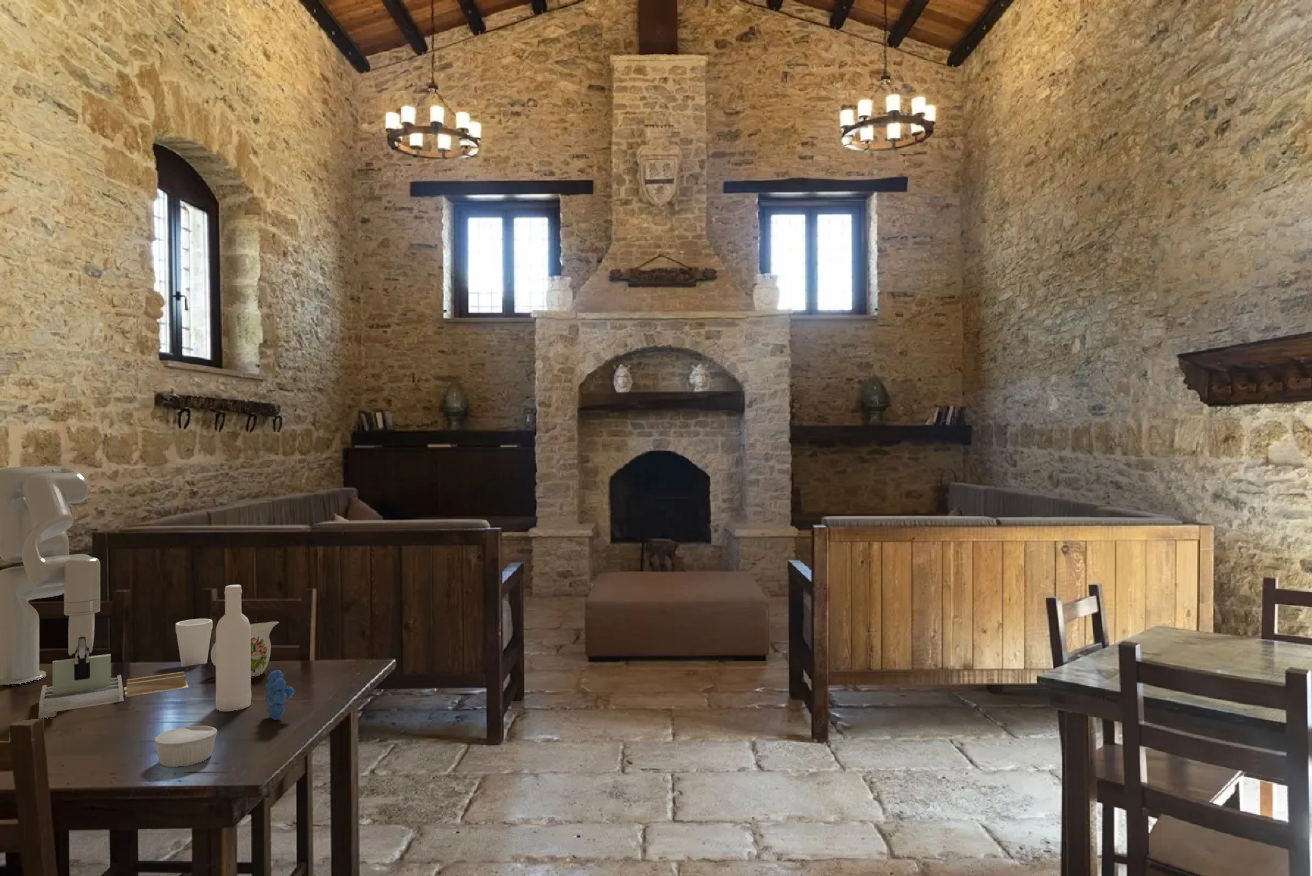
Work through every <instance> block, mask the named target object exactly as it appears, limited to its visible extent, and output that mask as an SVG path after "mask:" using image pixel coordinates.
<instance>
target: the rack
mask: <svg viewBox="0 0 1312 876" xmlns="http://www.w3.org/2000/svg"><path fill="white" fill-rule="evenodd" d="M123 686H124V685H123V681H122V675H121V674H118V675H117V677H111V686H105V687H98V688H91V689H84V690H77V691H70V692H63V693H56V694H53V686H47V684H44V685H42V687H41V692H40V697H39V701H38V719H39V718H43V720H45V719H44V717H45V718H47V719H48V717H53V716H56V717H57V712H62V711H67V710H69V711H70V710H75V709H81V708H87V707H93V706H100V705H101V706H102V705H108V704H114V703H121V702H124V701H125V700H124V687H123ZM47 719H46V720H47ZM48 720H49V719H48Z"/></svg>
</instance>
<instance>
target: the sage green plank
mask: <svg viewBox="0 0 1312 876" xmlns="http://www.w3.org/2000/svg"><path fill="white" fill-rule="evenodd" d="M111 655H112V654H111V653H108V654H99V655H90V657H89V662H90V678H89V679H83V680H74V664H75V657H74V658H67V659H60V660H53V661H52V687H53V694H56V693H63V692H70V691H77V690H84V689H91V688H98V687H105V686H111V678H112V676H111V675H112V674H111V673H112V671H111V670H112V666H111V665H112V662H111V661H112V657H111Z"/></svg>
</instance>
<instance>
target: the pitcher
mask: <svg viewBox="0 0 1312 876" xmlns="http://www.w3.org/2000/svg"><path fill="white" fill-rule="evenodd" d="M279 623H280V622H279V621H268V622H257V623H250V626H251V676H255V677H258V676H261V675H262V674H263V673H264V671H265V670H266V669H267V667H268V664H269V662H270V658H271V657H270V656H271V652H272V650H271V648H272V647H271V645H272V644H271V643H272V642H271V639H270V633H271V632H272V630H273V628H274V627H275V626H276V625H278V624H279ZM210 659H211V662H212V664H213V665H214V666H215V667H216V642H215V643H213V645H212V646H211V650H210ZM260 674H261V675H260Z"/></svg>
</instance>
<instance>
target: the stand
mask: <svg viewBox="0 0 1312 876" xmlns="http://www.w3.org/2000/svg"><path fill="white" fill-rule="evenodd" d="M186 678H187V677H186V674H185V671H179V672H172V673H163V674H158V675H151V676H143V677H136V678H128V679H126V686H125V687H123V691H124V696H125V697H126V698H127V697H133V696H142V695H146V694H147V695H148V694H153V693H160V692H168V691H174V690H181V689H187V688H189V684H188V682H187V679H186Z"/></svg>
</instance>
